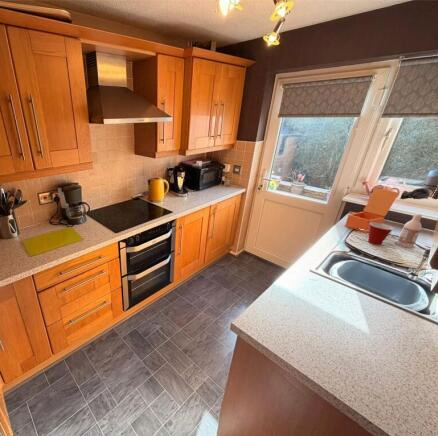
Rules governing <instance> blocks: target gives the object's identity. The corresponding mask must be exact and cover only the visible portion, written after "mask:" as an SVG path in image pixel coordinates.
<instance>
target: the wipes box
mask: <svg viewBox="0 0 438 436" xmlns="http://www.w3.org/2000/svg"><path fill="white" fill-rule="evenodd" d="M384 219H385V217H384V216H380V215H377V214H373V213H369V212H365V211H359V212H354V213H350V214H348V215H347V218H346V222H345V225H344V227H348V228H350V229H354V230H357V231H359V232H363V233H369V232H370V223H380V224H383V223H384ZM357 228H360V229H364V230H369V231H364V230H360V229H357Z"/></svg>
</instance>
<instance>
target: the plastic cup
mask: <svg viewBox="0 0 438 436" xmlns="http://www.w3.org/2000/svg"><path fill="white" fill-rule="evenodd" d="M392 231H394V227H393V226H390V225H387V224H384V223H382V224H380V223H370V231H369V232H368V243H369V244H372V245H375V246H381V245H383V243H384V241H385V240H386V238H388V236H389V234H391V232H392Z"/></svg>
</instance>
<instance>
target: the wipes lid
mask: <svg viewBox="0 0 438 436" xmlns="http://www.w3.org/2000/svg"><path fill="white" fill-rule="evenodd" d="M399 194H400V192H397V191H393V190H392V191H391V190H387V189H382V188H381V189H380V188H375V189H374V190H373V192H372V193H371V196H370V197H369V199H368V201H367V203H366V205H365V207H364V208H363V210H362V212H366V213H370V214H374V215H378V216H382V217H384V218H385V217H387V214H388V213H389V211H390V209H391V207H392V206H393V204H394V202H395V201H396V199H397V198H398V195H399Z"/></svg>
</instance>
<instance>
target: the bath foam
mask: <svg viewBox="0 0 438 436" xmlns="http://www.w3.org/2000/svg"><path fill="white" fill-rule="evenodd" d="M422 217H423V214H420V213H414V214H413V216H412V218H411V220H409V221H407V222H406V223H405V224H404V225H403V227H402V229H401V232H400V234H399V237H398V239H397V241H396V244H397V245H398V246H400V247H402V248H408V249H409V248H410V249H412V248H413V247H415V244H416V242H417V240H418V238H419V235H420V234H421V231H422V228H423V227H422V223H421V218H422Z"/></svg>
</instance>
